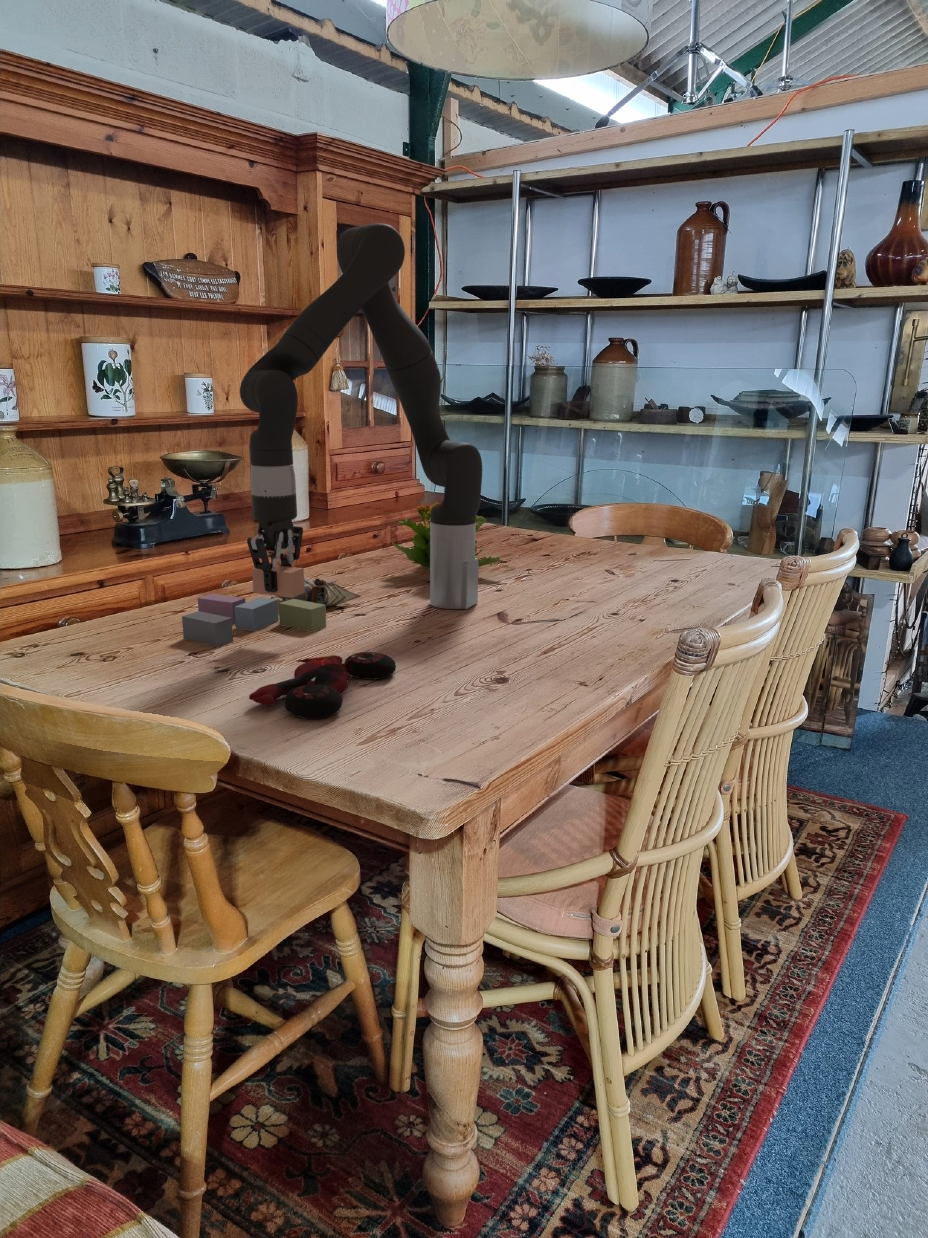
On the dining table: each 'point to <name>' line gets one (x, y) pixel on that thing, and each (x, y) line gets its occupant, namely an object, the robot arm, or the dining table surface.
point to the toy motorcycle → (323, 683)
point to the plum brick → (220, 605)
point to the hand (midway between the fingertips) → (279, 588)
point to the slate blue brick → (256, 614)
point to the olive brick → (302, 615)
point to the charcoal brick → (207, 628)
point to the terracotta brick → (281, 581)
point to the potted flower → (422, 539)
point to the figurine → (323, 593)
